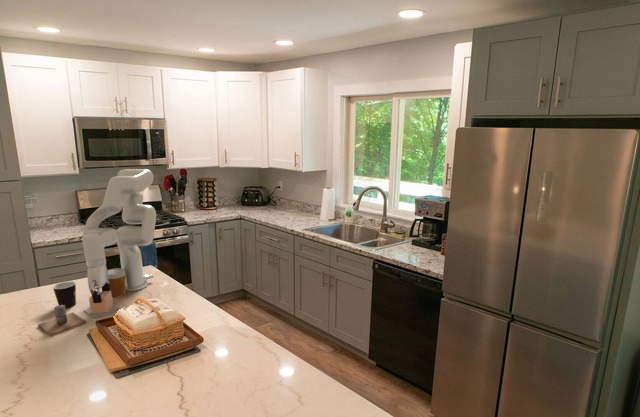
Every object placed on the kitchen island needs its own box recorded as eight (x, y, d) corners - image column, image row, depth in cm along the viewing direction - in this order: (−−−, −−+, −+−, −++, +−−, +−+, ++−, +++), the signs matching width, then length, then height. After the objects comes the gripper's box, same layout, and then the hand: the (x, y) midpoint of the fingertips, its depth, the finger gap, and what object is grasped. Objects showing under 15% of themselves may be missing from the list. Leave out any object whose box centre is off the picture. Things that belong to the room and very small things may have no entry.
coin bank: (97, 306, 177) (95, 291, 175) (113, 305, 177) (111, 290, 176) (91, 313, 170) (88, 297, 169) (107, 312, 171) (105, 296, 170)
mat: (109, 302, 182) (109, 301, 182) (121, 308, 175) (120, 307, 175) (83, 311, 173) (83, 310, 173) (95, 318, 167) (95, 317, 166)
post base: (73, 314, 171) (70, 297, 169) (86, 323, 163) (83, 305, 161) (38, 326, 160) (35, 308, 159) (50, 336, 153) (47, 317, 151)
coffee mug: (70, 309, 175) (67, 288, 173) (51, 309, 175) (48, 289, 173) (86, 298, 186) (83, 278, 184) (68, 298, 187) (65, 278, 184)
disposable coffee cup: (107, 293, 192) (103, 269, 190) (128, 289, 196) (125, 266, 194) (105, 300, 184) (102, 276, 181) (128, 296, 188) (125, 273, 185)
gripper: (95, 254, 177) (100, 289, 182) (77, 269, 161) (84, 307, 165) (112, 253, 178) (118, 288, 183) (97, 268, 162) (103, 306, 166)
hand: (102, 297), depth 174 cm, fingers open, 9 cm apart
